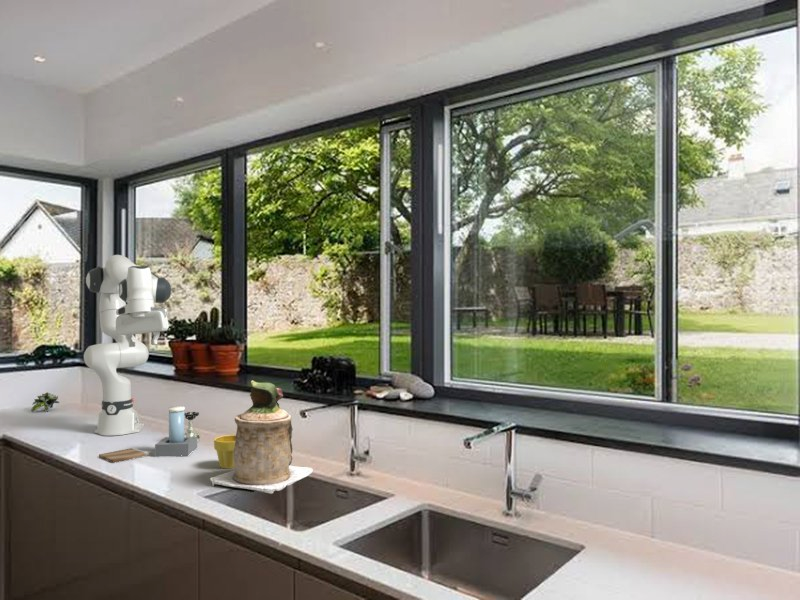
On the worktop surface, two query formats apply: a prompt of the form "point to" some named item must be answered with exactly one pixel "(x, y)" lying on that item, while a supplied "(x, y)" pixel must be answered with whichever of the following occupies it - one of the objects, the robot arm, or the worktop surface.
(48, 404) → the green leafy plant
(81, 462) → the worktop surface
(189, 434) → the valve
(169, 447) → the housing
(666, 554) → the worktop surface
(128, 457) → the board
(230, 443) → the plant pot
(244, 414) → the cookie jar
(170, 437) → the blue bottle
